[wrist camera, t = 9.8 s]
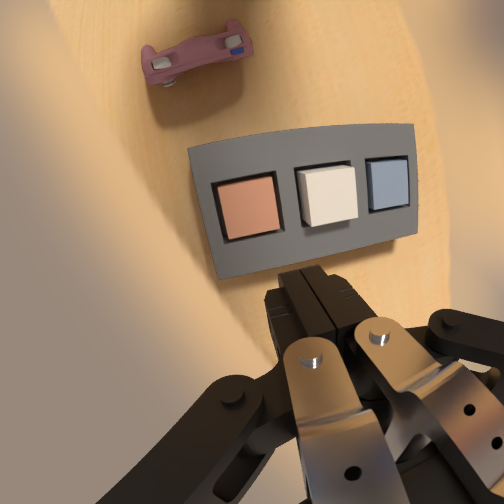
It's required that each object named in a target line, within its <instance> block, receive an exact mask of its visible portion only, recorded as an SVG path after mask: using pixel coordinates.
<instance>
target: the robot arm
mask: <svg viewBox="0 0 504 504" xmlns="http://www.w3.org/2000/svg"><path fill="white" fill-rule="evenodd" d="M278 281H279V288H276V289H272V290H267V293H266V296H265V299H264V302H265V307H266V312H267V318H268V323H269V328H270V333H271V337H272V340H273V343H274V346H275V350H276V353H277V356H278V360H279V361H278V363H277V364H276V366H275V367H274V368H273V369H272V370H271V371H269V372H268V373H266V374H265V375H263V376H261V377H259V378H257V379H255V380H254V379H252V378H250V377H248V376H244V375H229V376H225V377H222V378H220V379H218V380H216V381H215V382H213V383H212V384H211V385H210V386H209V387H208V388H207V389H206V390H205V392H204V393H203V394H202V395H201V396H200V397H199V398H198V400H197V401H196V402H195V403H194V404H193V405H192V406H191V407H190V408H189V410H188V411H187V412H186V413H185V414H184V415H183V416H182V418H180V419H179V421H178V422H177V423H176V424H175V425H174V426H173V427H172V428H171V429H170V430H169V432H167V434H166V435H165V436H164V437H163V438H162V439H161V440H160V441H159V442H158V443H157V444H156V445H155V446H154V447H153V448H152V450H150V451H149V452H148V454H146V455H145V457H143V458H142V459H141V461H139V463H138V464H137V465H136V466H134V467H133V468H132V469H131V470H130V472H128V473H127V475H125V476H124V477H123V478H122V479H121V480H120V481H119V482H118V483H117V484H116V485H115V486H114V487H113V488H112V489H111V490H110V491H109V492H108V493H106V494H105V495H104V496H103V497H102V498H101V499H100V500H99V501H98V502H96V504H238V503H239V502H240V500H241V499H242V498H243V496H244V495H245V494H246V492H247V491H248V489H249V488H250V487H251V485H252V484H253V483H254V481H255V480H256V478H257V477H258V475H259V474H260V472H261V471H262V469H263V468H264V466H265V465H266V463H267V462H268V460H269V459H270V457H271V456H272V454H273V453H274V451H275V448H277V447H279V446H281V445H282V444H284V443H286V442H288V441H289V440H291V439H293V438H294V437H296V440H297V446H298V450H299V456H300V461H301V467H302V473H303V479H304V485H305V490H306V496H307V499H305V500H304V501H302V502H301V503H299V504H504V322H502V321H498V320H494V319H489V318H485V317H481V316H477V315H473V314H469V313H465V312H461V311H457V310H452V309H441V310H438V311H436V312H434V313H433V314H432V315H431V316H430V318H429V322H428V326H422V327H415V328H403V327H402V326H401V325H400V324H399V323H397V322H396V321H394V320H392V319H389V318H385V317H378V316H377V315H376V314H375V313H374V311H373V310H372V309H371V308H370V307H369V306H368V304H367V303H366V302H365V301H364V300H363V299H362V297H361V296H360V295H358V293H357V292H356V290H355V289H353V288H352V286H351V285H350V284H349V282H348V281H347V280H346V279H344V278H342V277H340V276H338V275H336V274H333V275H329V276H328V275H327V274H326V273H325V272H324V270H323V269H322V268H321V267H320V266H319V265H314V266H310V267H306V268H301V269H299V270H298V269H297V270H293V271H289V272H284V273H280V274H278ZM459 359H464V360H467V361H471V362H475V363H479V364H482V365H486V366H490V367H491V369H490V370H489V371H487V372H485V373H480V372H476V371H472V370H469V369H468V368H467V367H466V366H464V365H463V364H462V363H460V362H458V360H459Z"/></svg>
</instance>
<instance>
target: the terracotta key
mask: <svg viewBox="0 0 504 504" xmlns="http://www.w3.org/2000/svg"><path fill="white" fill-rule="evenodd" d="M217 186H218V192H219V197H220V201H221V206H222V211H223V215H224V220H225V225H226V229H227V234H228V238H229V239H233V238H238V237H242V236H247V235H252V234H256V233H261V232H266V231H271V230H275V229H280V225H279V219H278V212H277V206H276V199H275V193H274V187H273V181H272V177H270V176H268V175H260V176H255V177H250V178H245V179H240V180H235V181H230V182H225V183H220V184H217Z"/></svg>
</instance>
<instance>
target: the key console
mask: <svg viewBox="0 0 504 504" xmlns="http://www.w3.org/2000/svg"><path fill="white" fill-rule="evenodd" d="M187 149H188V154H189V159H190V164H191V168H192V173H193V177H194V182H195V186H196V191H197V195H198V200H199V204H200V208H201V212H202V217H203V221H204V225H205V229H206V233H207V237H208V241H209V245H210V249H211V253H212V257H213V261H214V265H215V269H216V273H217V276H218V280H222V279H226V278H231V277H236V276H240V275H245V274H249V273H254V272H258V271H263V270H267V269H272V268H276V267H281V266H285V265H289V264H294V263H298V262H302V261H307V260H311V259H315V258H320V257H324V256H328V255H332V254H336V253H341V252H345V251H349V250H353V249H357V248H361V247H365V246H369V245H373V244H377V243H381V242H385V241H389V240H393V239H397V238H401V237H405V236H409V235H413V234H417V232H418V169H417V153H416V141H415V132H414V124H392V123H386V124H350V125H333V126H320V127H309V128H300V129H291V130H283V131H276V132H269V133H262V134H256V135H250V136H244V137H238V138H233V139H228V140H223V141H218V142H213V143H208V144H204V145H199V146H195V147H191V148H187ZM387 158H395V159H402V160H407V173H408V204H403V205H397V206H392V207H387V208H381V209H376V210H373V209H371V208H369V207H368V196H367V181H366V169H365V161H366V160H376V159H387ZM336 165H345V166H350V167H354V169H355V180H356V192H357V207H358V218H353V219H348V220H343V221H338V222H333V223H328V224H323V225H318V226H314V227H311V226H310V225H309V224H308V223H307V222H306V221H304V220H303V217H302V209H301V201H300V194H299V186H298V179H297V172H296V171H301V170H307V169H314V168H321V167H329V166H336ZM260 175H268V176H270V177H272V181H273V187H274V193H275V199H276V206H277V212H278V219H279V225H280V229H275V230H271V231H266V232H261V233H256V234H252V235H247V236H242V237H238V238H233V239H229V238H228V234H227V229H226V225H225V220H224V215H223V211H222V206H221V201H220V197H219V192H218V186H217V184H220V183H225V182H230V181H235V180H240V179H245V178H250V177H255V176H260Z"/></svg>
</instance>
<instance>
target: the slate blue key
mask: <svg viewBox="0 0 504 504" xmlns="http://www.w3.org/2000/svg"><path fill="white" fill-rule="evenodd" d="M365 169H366V181H367V196H368V207H369V208H371V209H373V210H376V209H381V208H387V207H392V206H397V205H403V204H408V173H407V160H402V159H395V158H387V159H376V160H366V161H365Z"/></svg>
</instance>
